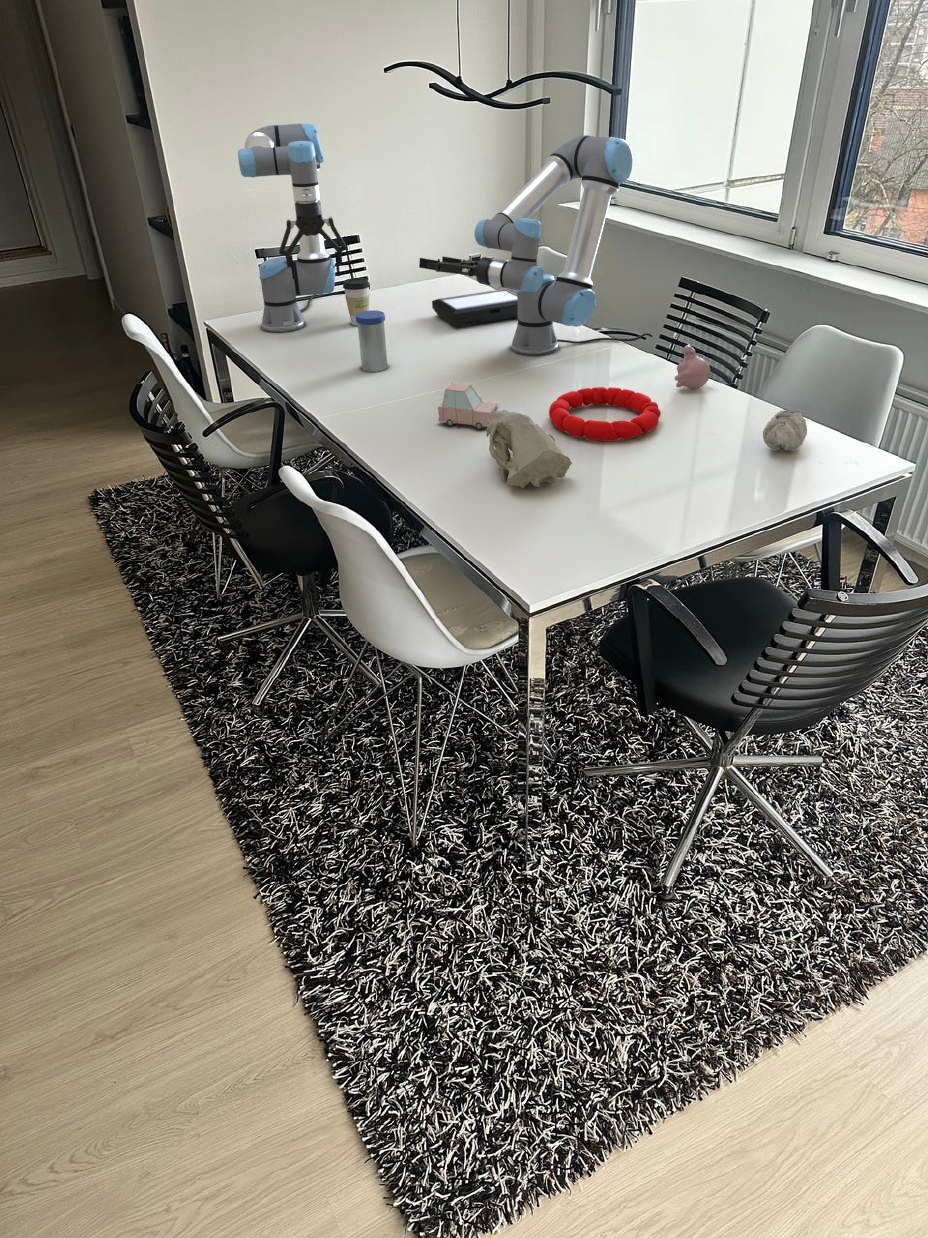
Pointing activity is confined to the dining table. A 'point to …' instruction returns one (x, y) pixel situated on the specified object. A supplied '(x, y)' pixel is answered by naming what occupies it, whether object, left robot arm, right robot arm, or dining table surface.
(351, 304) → the coffee cup
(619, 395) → the decorative ring
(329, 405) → the dining table surface
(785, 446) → the grey rounded lump
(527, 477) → the grey rock
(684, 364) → the figurine
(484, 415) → the toy car
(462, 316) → the electronic device
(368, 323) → the lid
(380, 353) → the jar
